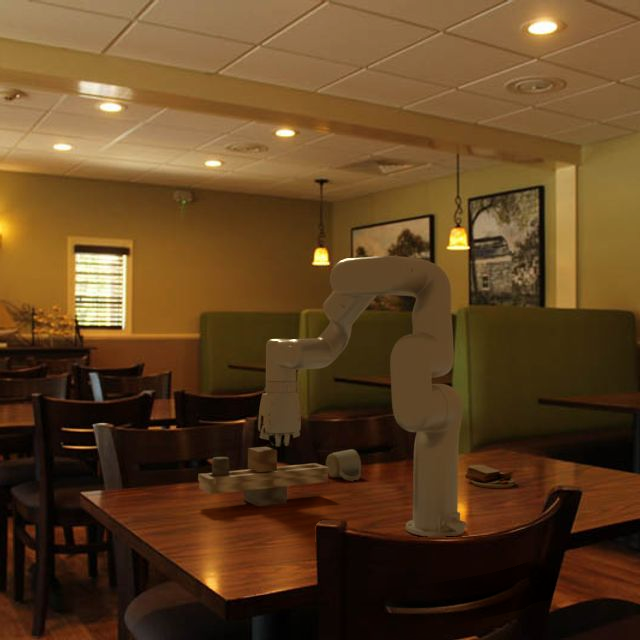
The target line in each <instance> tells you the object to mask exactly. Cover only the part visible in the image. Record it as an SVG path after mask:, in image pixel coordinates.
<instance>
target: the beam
mask: <svg viewBox="0 0 640 640" xmlns="http://www.w3.org/2000/svg"><path fill="white" fill-rule="evenodd" d="M211 461H212V462H211V463H212V464H211V468H212V469H211V472H208V473H198V475H197V476H198V477H197V481H198V482H199V483H198V488H199V490H201V491H203V492H206V493H207V494H209V495H216V494H226V493H227V494H229V493H236V492H243V493H242V494H243V496H242V497H243V498H242V499H243V501H245V502H248V503H249V504H252V505H254V506H256V507H263V506H271V505H280V504H287V503H288V498H287V497H288V487H291V486H302V485H309V484H312V485H313V484H318V483H328V481H329V477H328V476H329V467H326V465H322V464H320V463H316V462H313V463H312V462H311V463H304V464H293V465H281V466H277V471H272V472H271V471H267V472H262V473H252V471H254V470H251V469H249V468H247V469H238V470H230V458H229V457H228V456H215V457H212V460H211Z"/></svg>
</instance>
